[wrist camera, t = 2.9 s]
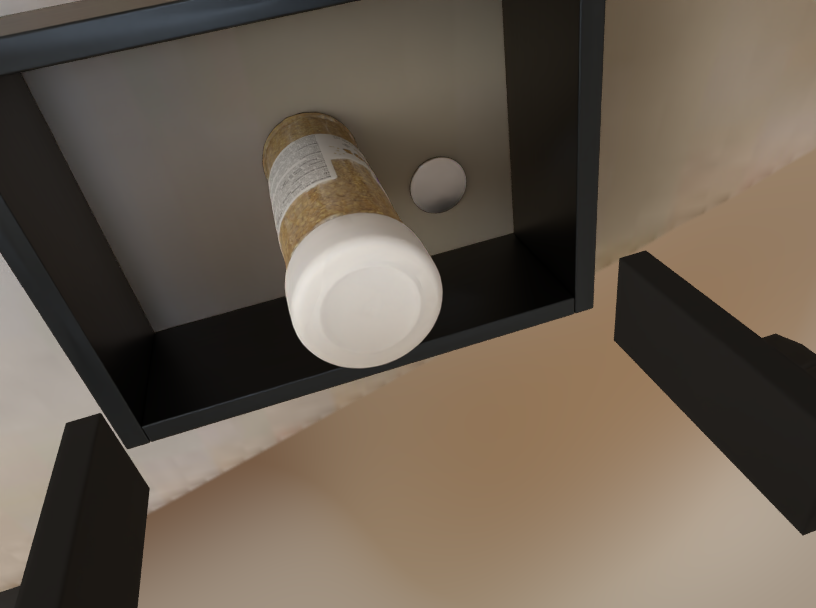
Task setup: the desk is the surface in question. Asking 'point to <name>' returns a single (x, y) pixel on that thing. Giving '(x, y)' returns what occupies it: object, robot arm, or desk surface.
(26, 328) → the desk surface
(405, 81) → the desk surface
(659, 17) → the desk surface
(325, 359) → the sprinkles bottle
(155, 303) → the desk surface
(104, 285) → the black open box
